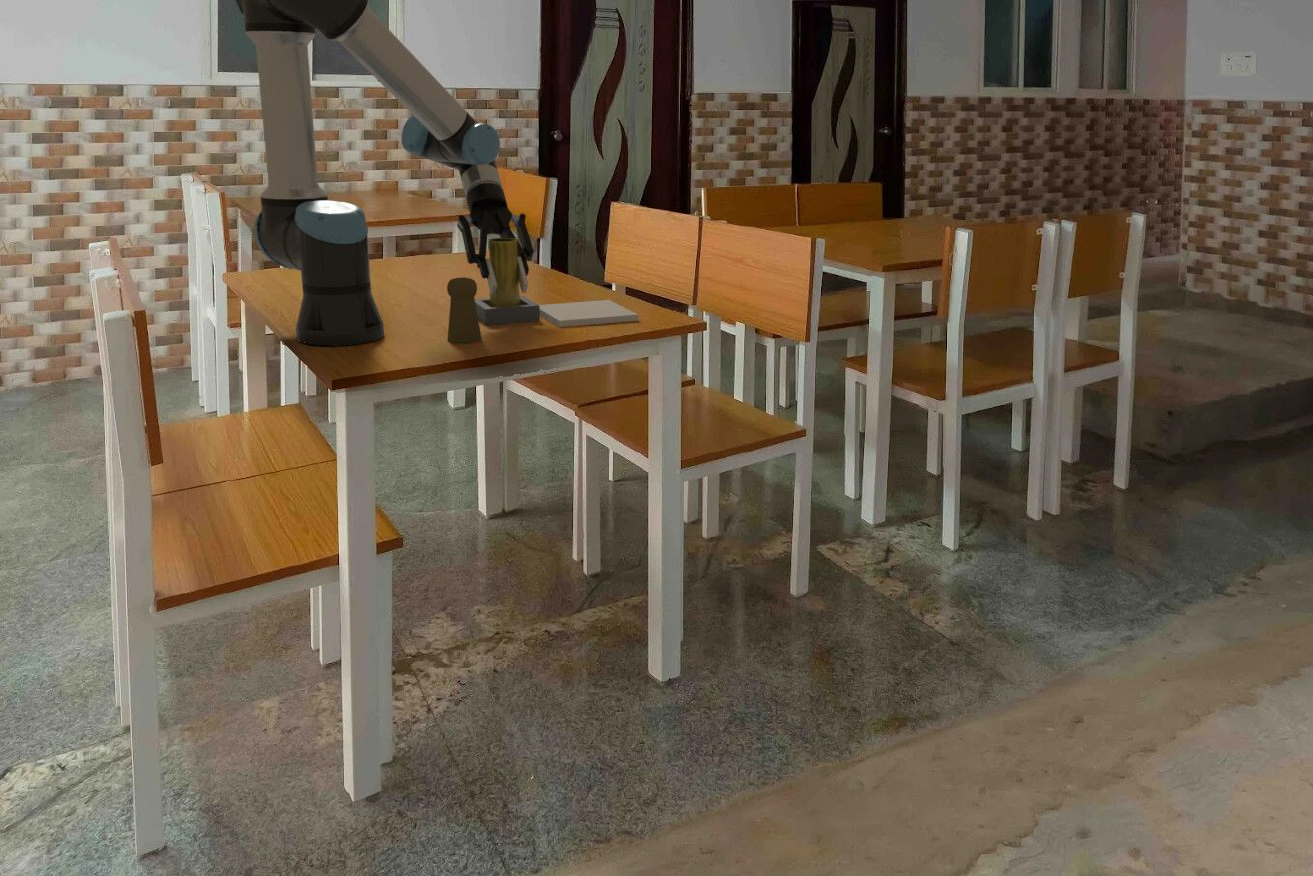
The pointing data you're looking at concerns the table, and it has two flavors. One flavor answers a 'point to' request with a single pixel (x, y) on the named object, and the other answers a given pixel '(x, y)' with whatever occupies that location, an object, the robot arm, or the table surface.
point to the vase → (504, 272)
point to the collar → (507, 312)
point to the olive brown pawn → (463, 312)
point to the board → (586, 313)
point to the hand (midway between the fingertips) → (509, 289)
